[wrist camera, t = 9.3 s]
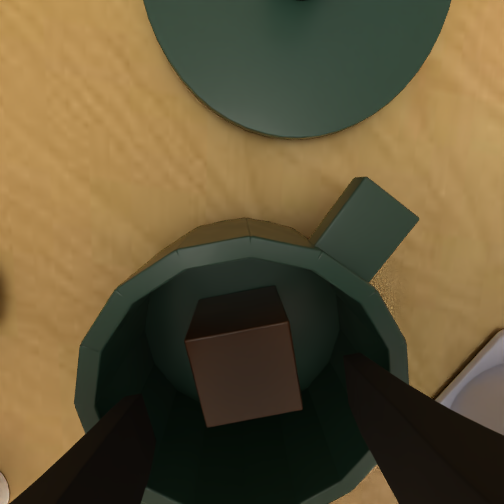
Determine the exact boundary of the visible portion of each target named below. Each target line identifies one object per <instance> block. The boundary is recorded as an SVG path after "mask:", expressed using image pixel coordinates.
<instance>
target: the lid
mask: <svg viewBox="0 0 504 504" xmlns="http://www.w3.org/2000/svg"><path fill="white" fill-rule="evenodd" d="M143 1H144V5H145V8H146V12H147V15H148V19H149V21H150V24H151V26H152V28H153V31H154V33H155V36H156V38H157V41H158V42H159V44H160V46H161V48H162V50H163V52H164V53H165V55H166V57H167V59H168V61H169V62H170V64H171V66H172V67H173V69H174V70H175V72H176V73H177V74H178V76H179V77H180V79H181V80H182V81H183V83H184V84H185V85H186V86H187V87H188V88H189V89H190V90H191V92H192V93H193V94H194V95H195V96H196V97H197V98H198V99H199V100H200V101H201V102H203V103H204V104H205V105H206V106H207V107H208V108H210V109H211V110H212V111H213V112H215V113H216V114H218V115H219V116H221V117H222V118H224V119H225V120H227V121H228V122H230V123H232V124H234V125H237V126H239V127H241V128H243V129H245V130H247V131H250V132H254V133H257V134H260V135H263V136H268V137H274V138H280V139H308V138H317V137H322V136H326V135H330V134H333V133H337V132H339V131H342V130H344V129H347V128H349V127H352V126H354V125H356V124H357V123H359V122H361V121H363V120H364V119H366V118H368V117H370V116H371V115H373V114H375V113H376V112H377V111H379V110H380V109H381V108H383V107H384V106H385V105H387V104H388V103H389V102H390V101H391V100H392V99H393V98H395V97H396V96H397V95H398V94H399V93H400V92H401V91H402V90H403V89H404V88H405V87H406V85H407V84H408V83H409V82H410V81H411V79H412V78H413V77H414V76H415V74H416V73H417V72H418V71H419V69H420V68H421V66H422V64H423V63H424V61H425V60H426V58H427V57H428V55H429V54H430V52H431V50H432V48H433V46H434V44H435V42H436V40H437V38H438V36H439V34H440V32H441V29H442V26H443V24H444V21H445V19H446V16H447V13H448V11H449V7H450V3H451V0H143Z"/></svg>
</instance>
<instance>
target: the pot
mask: <svg viewBox="0 0 504 504" xmlns="http://www.w3.org/2000/svg"><path fill="white" fill-rule="evenodd" d="M418 221H419V217H418V216H416V215H415V214H414V213H412V212H411V211H410V210H409V209H407V208H406V207H405V206H404V205H402V204H401V203H400V202H399V201H397V200H396V199H395V198H393V197H392V196H391V195H390V194H388V193H387V192H386V191H385V190H383V189H382V188H381V187H380V186H378V185H377V184H376V183H374V182H373V181H372V180H371V179H369V178H368V177H355V178H354V179H353V180H352V181H351V183H350V184H349V185H348V187H347V188H346V189H345V191H344V192H343V193H342V195H341V196H340V197H339V199H338V200H337V201H336V203H335V204H334V206H333V207H332V208H331V210H330V211H329V212H328V214H327V215H326V216H325V218H324V219H323V220H322V222H321V223H320V224H319V226H318V227H317V228H316V230H315V231H314V233H313V234H312V235H311V237H310V238H309V239H307V238H306V237H304V236H303V235H302V234H300V233H299V232H297V231H296V230H295V229H293V228H291V227H287V226H283V225H278V224H275V223H271V222H268V221H261V220H255V219H250V218H240V219H234V220H226V221H220V222H216V223H212V224H208V225H202V226H199V227H197V228H195V229H194V230H192V231H191V232H189V233H188V234H186V235H184V236H183V237H181V238H180V239H178V240H177V241H175V242H174V243H172V244H171V245H169V246H168V247H166V248H165V249H163V250H162V251H160V252H159V253H158V254H157V255H155V256H154V257H153V258H152V259H151V260H149V261H148V262H147V263H146V264H145V265H143V266H142V267H141V268H140V269H139V270H137V271H136V272H135V273H134V274H132V275H131V276H130V277H129V278H128V279H126V280H125V281H124V282H123V283H122V284H120V285H119V286H118V287H117V288H116V289H115V290H114V291H113V293H112V295H111V296H110V298H109V299H108V301H107V303H106V304H105V306H104V307H103V309H102V310H101V312H100V314H99V315H98V317H97V318H96V320H95V322H94V323H93V325H92V326H91V328H90V329H89V331H88V333H87V334H86V336H85V337H84V339H83V341H82V342H81V345H80V349H79V359H78V369H77V379H76V389H75V399H74V404H75V408H76V410H77V413H78V416H79V418H80V421H81V423H82V426H83V429H84V431H85V434H86V433H87V432H88V431H89V430H90V429H91V428H92V427H93V426H94V425H95V424H96V423H97V422H98V421H99V420H100V419H101V418H102V417H103V416H104V415H105V414H106V413H107V412H108V411H109V410H110V409H111V408H112V407H114V406H115V405H116V404H117V403H118V402H119V401H120V400H121V399H122V398H123V397H125V396H130V395H135V394H140V393H142V396H143V399H144V403H145V406H146V409H147V412H148V415H149V419H150V422H151V425H152V428H153V431H154V435H155V438H156V445H155V451H154V456H153V461H152V466H151V471H150V475H149V478H148V482H147V485H146V488H145V491H144V495H143V498H142V501H141V504H329V503H331V502H332V501H334V500H336V499H338V498H340V497H342V496H344V495H346V494H347V493H349V492H351V490H353V489H354V488H355V487H356V486H357V485H358V484H359V483H360V482H361V481H362V480H363V479H364V478H365V476H366V475H367V474H368V473H369V472H370V471H371V470H372V469H373V468H374V467H375V466H376V465H377V463H376V461H375V459H374V457H373V455H372V453H371V452H370V450H369V448H368V446H367V444H366V442H365V441H364V439H363V437H362V435H361V433H360V430H359V428H358V426H357V423H356V421H355V419H354V416H353V414H352V411H351V409H350V406H349V403H348V394H347V386H346V377H345V369H344V360H343V355H349V354H354V353H359V352H360V353H362V354H363V355H365V356H366V357H368V358H369V359H371V360H372V361H374V362H375V363H376V364H378V365H379V366H381V367H382V368H384V369H385V370H387V371H388V372H390V373H391V374H393V375H394V376H396V377H397V378H399V379H400V380H402V381H404V382H405V383H407V384H408V385H409V377H408V359H407V344H406V340H405V338H404V336H403V335H402V333H401V331H400V329H399V327H398V326H397V324H396V322H395V320H394V319H393V317H392V315H391V313H390V311H389V310H388V308H387V306H386V304H385V303H384V301H383V299H382V297H381V296H380V294H379V292H378V290H376V289H375V287H374V286H372V285H371V284H370V283H369V282H370V280H371V279H372V278H373V277H374V275H375V274H376V273H377V272H378V270H379V269H380V268H381V267H382V265H383V264H384V263H385V262H386V260H387V259H388V258H389V257H390V255H391V254H392V253H393V252H394V250H395V249H396V248H397V247H398V246H399V244H400V243H401V242H402V241H403V239H404V238H405V237H406V236H407V234H408V233H409V232H410V231H411V229H412V228H413V227H414V226H415V224H416V223H417V222H418ZM270 286H276V288H277V291H278V293H279V296H280V298H281V301H282V304H283V306H284V309H285V311H286V314H287V317H288V319H289V322H290V328H291V334H292V340H293V346H294V353H295V359H296V365H297V371H298V378H299V384H300V390H301V396H302V402H303V409H302V410H299V411H294V412H289V413H283V414H278V415H273V416H268V417H262V418H257V419H252V420H246V421H241V422H236V423H231V424H225V425H220V426H215V427H209V428H207V427H206V424H205V420H204V416H203V413H202V409H201V405H200V401H199V397H198V393H197V389H196V386H195V382H194V378H193V374H192V370H191V366H190V362H189V359H188V355H187V351H186V347H185V343H184V340H185V337H186V334H187V331H188V329H189V326H190V323H191V320H192V317H193V314H194V311H195V309H196V306H197V303H198V300H200V299H205V298H210V297H216V296H221V295H227V294H232V293H237V292H243V291H248V290H254V289H259V288H264V287H270Z"/></svg>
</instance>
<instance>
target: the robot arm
mask: <svg viewBox="0 0 504 504" xmlns="http://www.w3.org/2000/svg"><path fill="white" fill-rule="evenodd" d="M343 360H344V369H345V377H346V386H347V394H348V403H349V406H350V409H351V411H352V414H353V416H354V419H355V421H356V423H357V426H358V428H359V430H360V433H361V435H362V437H363V439H364V441H365V442H366V444H367V446H368V448H369V450H370V452H371V453H372V455H373V457H374V459H375V461H376V463H377V464H378V466H379V468H380V470H381V472H382V473H383V475H384V477H385V479H386V481H387V483H388V484H389V486H390V488H391V490H392V492H393V493H394V495H395V497H396V499H397V501H398V503H399V504H504V330H501V331H499V332H498V333H497V334H496V335H495V336H494V337H493V338H492V339H491V340H490V341H489V342H488V343H487V344H486V346H485V347H484V348H483V349H482V350H481V351H480V352H479V353H478V354H477V355H476V356H475V357H474V358H473V360H472V361H471V362H470V363H469V364H468V365H467V366H466V367H465V368H464V369H463V370H462V371H461V372H460V374H459V375H458V376H457V377H456V378H455V379H454V380H453V381H452V382H451V383H450V384H449V385H448V386H447V388H446V389H445V390H444V391H443V392H442V393H441V394H440V395H439V396H438V397H437V398H436V399H435V400H433V399H432V398H430V397H428V396H426V395H425V394H423V393H421V392H420V391H418V390H416V389H415V388H413V387H411V386H410V385H408V384H407V383H405V382H404V381H402V380H400V379H399V378H397V377H396V376H394V375H393V374H391V373H390V372H388V371H387V370H385V369H384V368H382V367H381V366H379V365H378V364H376V363H375V362H374V361H372V360H371V359H369V358H368V357H366V356H365V355H363V354H362V353H360V352H359V353H354V354H349V355H343ZM155 445H156V438H155V435H154V431H153V428H152V425H151V422H150V419H149V415H148V412H147V409H146V406H145V403H144V399H143V396H142V393H140V394H135V395H130V396H125V397H123V398H122V399H121V400H120V401H119V402H118V403H117V404H116V405H115V406H114V407H112V408H111V409H110V410H109V411H108V412H107V413H106V414H105V415H104V416H103V417H102V418H101V419H100V420H99V421H98V422H97V423H96V424H95V425H94V426H93V427H92V428H91V429H90V430H89V431H88V432H87V433H86V434H85V435H84V436H83V437H82V438H81V439H80V440H79V441H78V442H77V443H76V444H75V445H74V446H73V447H72V448H71V449H70V450H69V451H68V452H67V453H65V454H64V455H63V456H62V457H61V458H60V459H59V460H58V461H57V462H56V463H55V464H54V465H52V466H51V467H50V468H49V469H48V470H47V471H46V472H45V473H44V474H43V475H42V476H41V477H40V478H38V479H37V480H36V481H35V482H34V483H33V484H32V485H31V486H30V487H28V488H27V489H26V490H25V491H24V492H23V493H21V494H20V495H19V496H18V497H17V498H16V499H14V500H13V501H12V502H11V503H10V504H141V501H142V498H143V495H144V491H145V488H146V485H147V482H148V478H149V475H150V471H151V466H152V461H153V456H154V451H155Z"/></svg>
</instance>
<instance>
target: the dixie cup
mask: <svg viewBox="0 0 504 504" xmlns="http://www.w3.org/2000/svg"><path fill="white" fill-rule="evenodd" d="M8 501H9V488H8V484H7V481H6V479H5V478H4V476H3V475H2V473H1V472H0V504H8Z"/></svg>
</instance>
